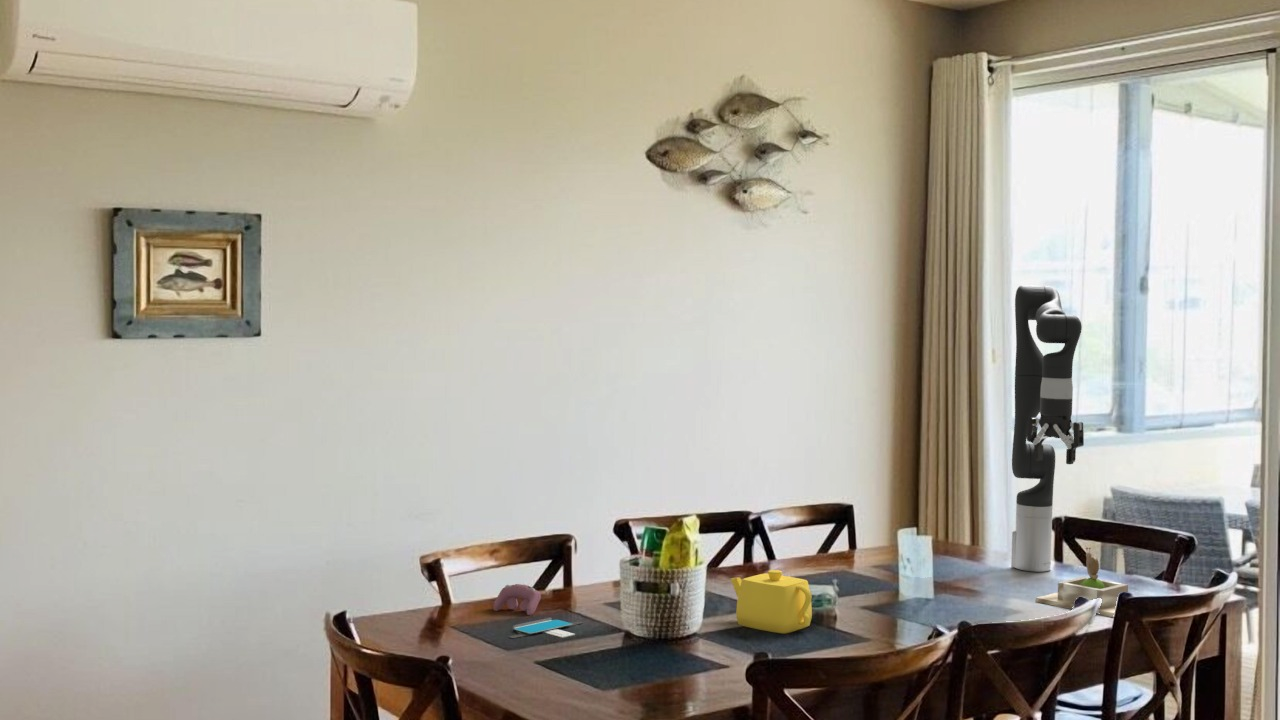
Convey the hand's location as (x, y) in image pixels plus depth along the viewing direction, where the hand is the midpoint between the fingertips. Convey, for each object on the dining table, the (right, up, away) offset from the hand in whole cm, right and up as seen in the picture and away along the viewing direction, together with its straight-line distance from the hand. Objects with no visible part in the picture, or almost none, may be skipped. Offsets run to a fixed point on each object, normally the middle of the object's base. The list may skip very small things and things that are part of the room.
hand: (1054, 462), depth 332 cm
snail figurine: (+4, -32, -14) cm, 35 cm away
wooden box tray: (+5, -32, -14) cm, 36 cm away
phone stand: (-120, -32, -49) cm, 134 cm away
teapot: (-73, -32, -40) cm, 89 cm away
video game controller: (-129, -31, -32) cm, 136 cm away
